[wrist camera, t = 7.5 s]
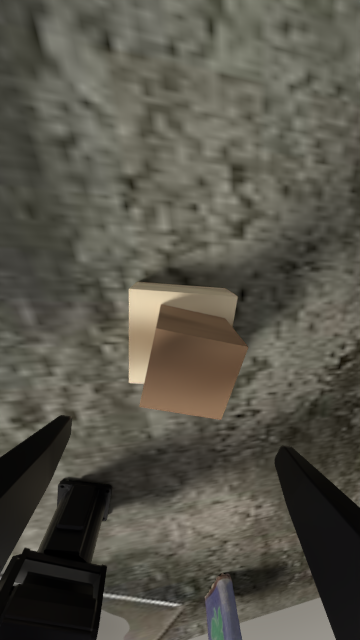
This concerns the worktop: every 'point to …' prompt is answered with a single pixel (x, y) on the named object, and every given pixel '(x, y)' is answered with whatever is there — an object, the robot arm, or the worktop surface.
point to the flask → (222, 610)
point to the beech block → (146, 312)
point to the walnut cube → (192, 363)
